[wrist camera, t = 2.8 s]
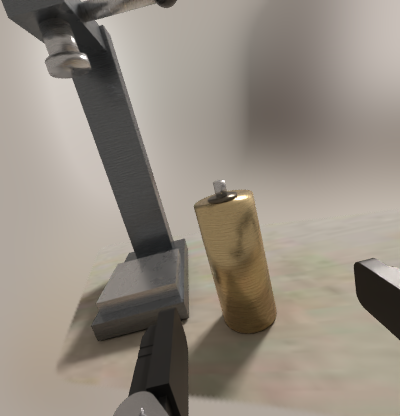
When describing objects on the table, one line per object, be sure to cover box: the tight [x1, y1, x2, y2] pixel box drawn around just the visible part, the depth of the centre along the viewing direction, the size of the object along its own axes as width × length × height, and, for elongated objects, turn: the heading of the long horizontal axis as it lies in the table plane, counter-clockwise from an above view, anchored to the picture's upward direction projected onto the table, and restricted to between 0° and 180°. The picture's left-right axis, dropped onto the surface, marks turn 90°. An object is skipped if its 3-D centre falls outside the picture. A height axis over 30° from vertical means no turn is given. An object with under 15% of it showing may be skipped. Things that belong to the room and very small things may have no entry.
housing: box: [194, 180, 277, 333], centre depth 22 cm, size 5×5×14 cm
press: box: [2, 0, 189, 341], centre depth 30 cm, size 18×18×34 cm
